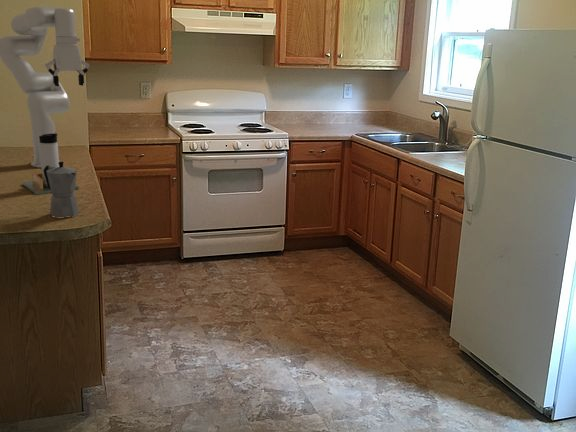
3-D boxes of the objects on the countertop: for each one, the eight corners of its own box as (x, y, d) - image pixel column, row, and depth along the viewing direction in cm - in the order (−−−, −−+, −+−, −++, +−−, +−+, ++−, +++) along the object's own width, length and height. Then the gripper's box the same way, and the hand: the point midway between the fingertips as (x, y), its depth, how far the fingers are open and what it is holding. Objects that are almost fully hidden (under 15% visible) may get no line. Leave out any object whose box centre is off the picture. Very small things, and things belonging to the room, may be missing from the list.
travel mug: (55, 188, 238) (51, 135, 232) (39, 186, 239) (35, 134, 233) (64, 184, 243) (60, 132, 237) (48, 182, 245) (44, 131, 239)
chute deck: (22, 184, 244) (21, 172, 243) (64, 179, 254) (63, 167, 252) (35, 194, 231) (34, 181, 230) (78, 189, 241) (77, 176, 239)
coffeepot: (89, 215, 210) (86, 162, 205) (66, 221, 203) (62, 167, 197) (59, 206, 218) (55, 155, 213) (35, 212, 211) (31, 159, 205)
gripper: (84, 41, 256) (87, 84, 261) (40, 40, 245) (44, 85, 251) (91, 42, 250) (93, 85, 255) (46, 41, 240) (50, 87, 245)
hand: (69, 85), depth 253 cm, fingers open, 9 cm apart
